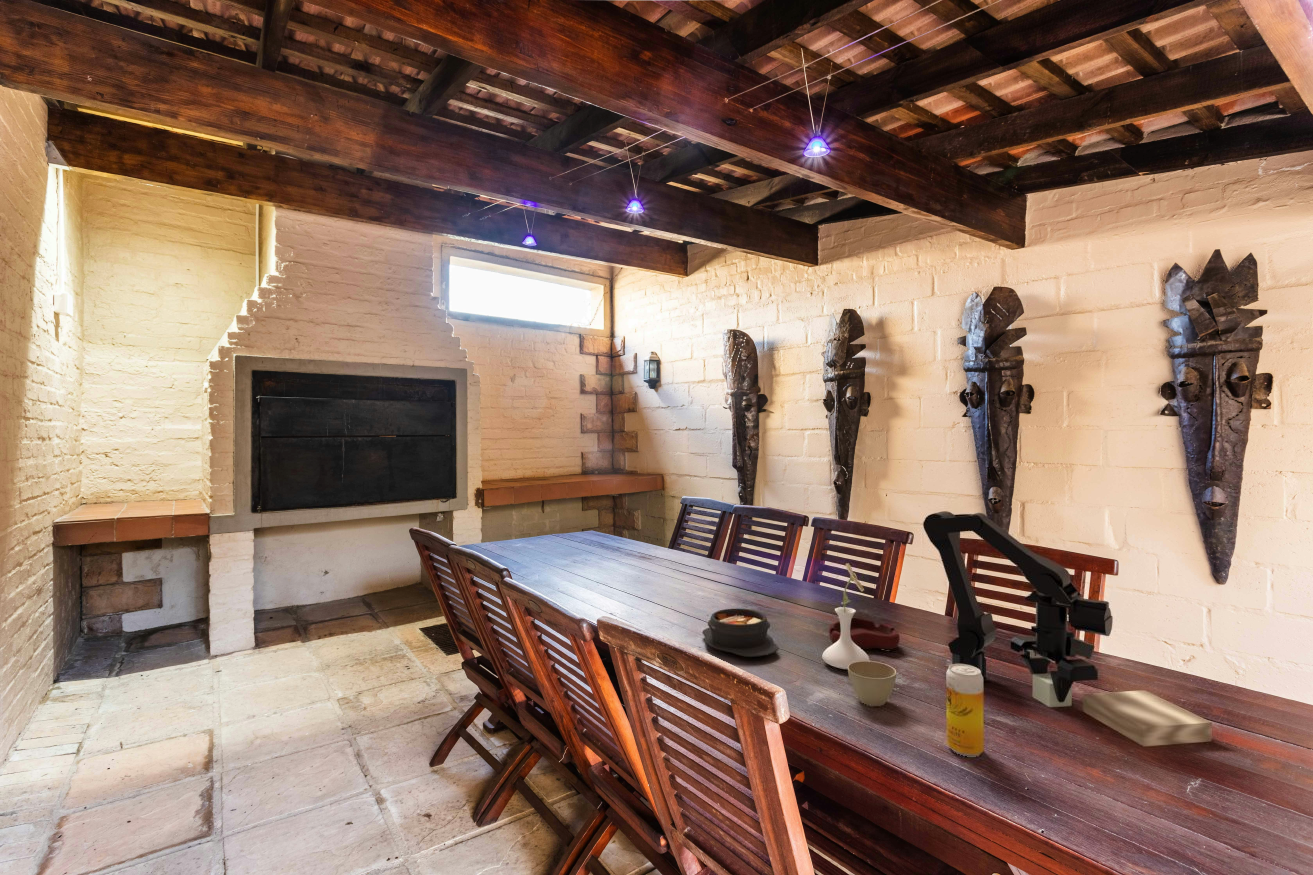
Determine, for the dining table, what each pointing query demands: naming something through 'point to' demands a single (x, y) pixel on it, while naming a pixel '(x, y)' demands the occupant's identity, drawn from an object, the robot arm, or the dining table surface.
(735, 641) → the casserole
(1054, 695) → the sage block
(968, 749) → the beer can
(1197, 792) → the dining table surface
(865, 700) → the flower pot
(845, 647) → the flower in vase
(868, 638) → the ashtray
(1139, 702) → the birch base
